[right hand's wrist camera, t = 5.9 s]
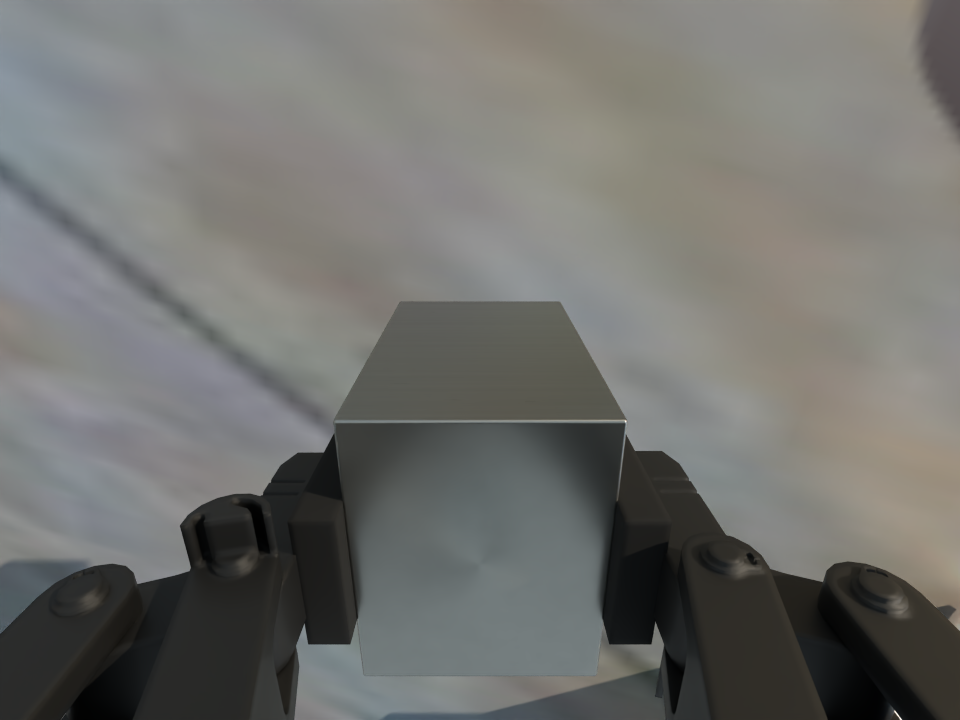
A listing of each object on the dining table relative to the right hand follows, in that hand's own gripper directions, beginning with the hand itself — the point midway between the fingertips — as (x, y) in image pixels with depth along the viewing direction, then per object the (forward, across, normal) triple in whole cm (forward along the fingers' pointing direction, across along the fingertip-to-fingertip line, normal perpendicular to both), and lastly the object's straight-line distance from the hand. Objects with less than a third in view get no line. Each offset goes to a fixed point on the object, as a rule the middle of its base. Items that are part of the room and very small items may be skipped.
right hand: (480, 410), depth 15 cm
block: (+1, 0, 0) cm, 1 cm away
